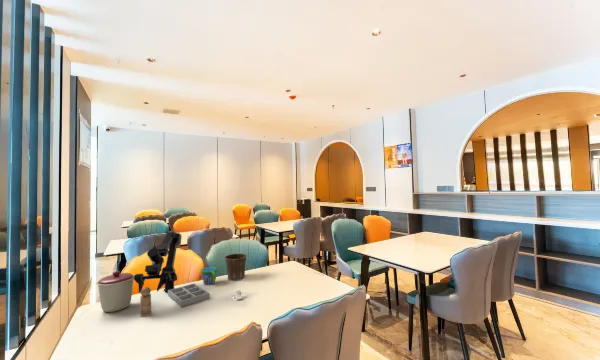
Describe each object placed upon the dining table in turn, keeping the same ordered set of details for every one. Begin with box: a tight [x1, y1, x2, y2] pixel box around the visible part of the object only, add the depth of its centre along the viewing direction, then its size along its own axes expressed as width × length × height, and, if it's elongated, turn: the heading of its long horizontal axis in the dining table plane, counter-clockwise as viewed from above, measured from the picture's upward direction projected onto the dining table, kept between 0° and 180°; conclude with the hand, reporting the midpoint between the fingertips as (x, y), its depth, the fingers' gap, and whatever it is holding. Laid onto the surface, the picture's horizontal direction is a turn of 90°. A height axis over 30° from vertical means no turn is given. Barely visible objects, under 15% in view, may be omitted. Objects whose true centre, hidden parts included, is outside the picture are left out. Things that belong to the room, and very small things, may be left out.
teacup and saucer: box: [231, 289, 246, 301], centre depth 157 cm, size 9×8×4 cm
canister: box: [96, 270, 135, 313], centre depth 149 cm, size 18×18×21 cm
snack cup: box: [200, 266, 218, 286], centre depth 184 cm, size 16×10×10 cm
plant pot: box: [224, 253, 248, 281], centre depth 194 cm, size 16×16×16 cm
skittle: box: [139, 286, 152, 318], centre depth 140 cm, size 5×5×14 cm
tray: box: [167, 282, 211, 309], centre depth 161 cm, size 24×16×4 cm
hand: (148, 291), depth 143 cm, fingers open, 9 cm apart
